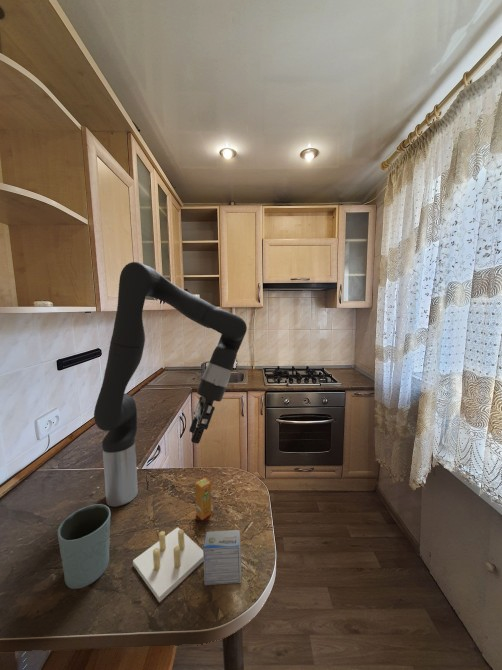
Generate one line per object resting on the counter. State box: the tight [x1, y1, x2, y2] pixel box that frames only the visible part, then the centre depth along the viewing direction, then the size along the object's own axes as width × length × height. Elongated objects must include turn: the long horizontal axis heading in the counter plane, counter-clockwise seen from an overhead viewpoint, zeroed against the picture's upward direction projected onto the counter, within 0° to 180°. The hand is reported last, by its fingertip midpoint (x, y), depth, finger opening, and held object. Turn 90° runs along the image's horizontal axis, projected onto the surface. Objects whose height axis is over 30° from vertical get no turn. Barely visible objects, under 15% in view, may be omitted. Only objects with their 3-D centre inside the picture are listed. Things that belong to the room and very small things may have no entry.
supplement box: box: [195, 477, 212, 521], centre depth 72 cm, size 3×3×10 cm
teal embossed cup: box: [57, 503, 112, 590], centre depth 57 cm, size 10×10×12 cm
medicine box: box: [202, 529, 242, 586], centre depth 55 cm, size 8×4×9 cm, turn 92°
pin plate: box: [132, 526, 204, 603], centre depth 58 cm, size 12×12×5 cm
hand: (193, 437), depth 69 cm, fingers open, 8 cm apart
